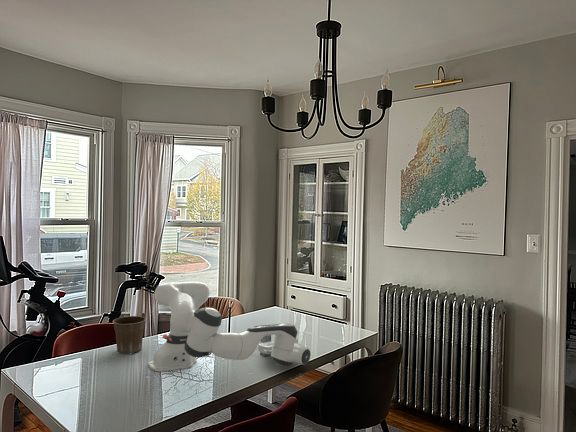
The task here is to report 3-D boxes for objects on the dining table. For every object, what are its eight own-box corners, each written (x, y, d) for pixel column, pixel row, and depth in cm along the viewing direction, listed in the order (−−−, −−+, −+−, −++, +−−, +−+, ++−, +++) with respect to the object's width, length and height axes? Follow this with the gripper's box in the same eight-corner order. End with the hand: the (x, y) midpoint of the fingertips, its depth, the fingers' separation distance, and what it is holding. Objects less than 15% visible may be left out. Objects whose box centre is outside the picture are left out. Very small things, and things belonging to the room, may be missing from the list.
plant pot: (118, 357, 222) (118, 325, 222) (108, 349, 235) (108, 318, 235) (150, 351, 233) (150, 320, 232) (138, 343, 245) (138, 314, 245)
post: (264, 356, 228) (265, 331, 227) (260, 354, 231) (260, 329, 230) (270, 355, 230) (271, 330, 230) (266, 353, 233) (266, 328, 233)
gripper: (267, 359, 212) (251, 351, 223) (300, 350, 225) (282, 344, 236) (268, 345, 212) (251, 339, 223) (300, 338, 225) (283, 332, 236)
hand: (267, 341), depth 229 cm, fingers open, 8 cm apart
